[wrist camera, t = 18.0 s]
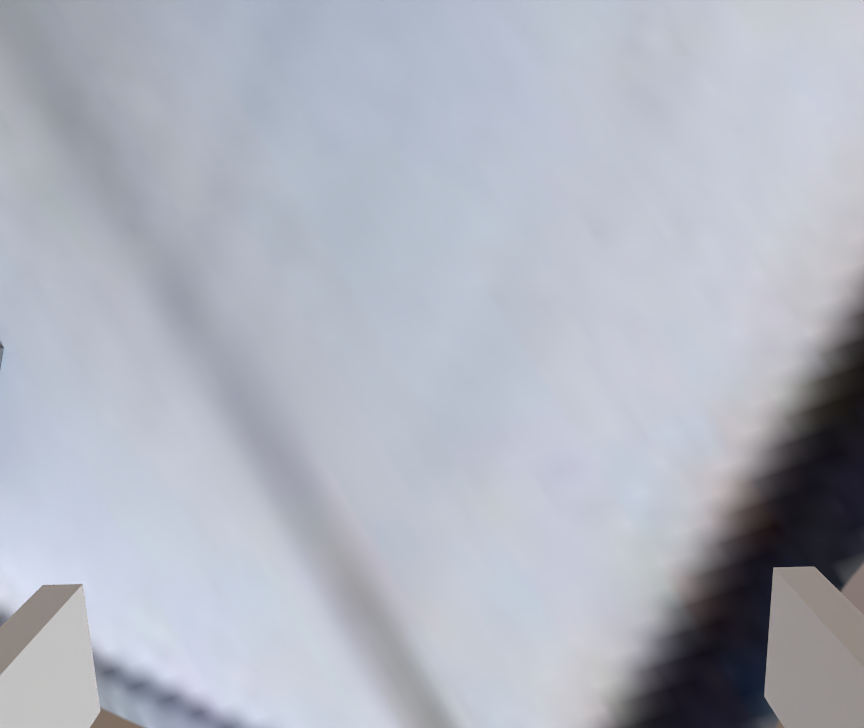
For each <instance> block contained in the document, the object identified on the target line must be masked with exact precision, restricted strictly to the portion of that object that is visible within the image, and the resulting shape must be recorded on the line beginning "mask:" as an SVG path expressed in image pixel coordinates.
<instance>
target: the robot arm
mask: <svg viewBox="0 0 864 728" xmlns="http://www.w3.org/2000/svg"><path fill="white" fill-rule="evenodd" d="M764 697H765V698H766V700H767V702H768V703H769V705H770V706H771V708H772V709H773V711H774V712H775V714H776V715H777V717H778V718H779V720H780V721H781V723H782V724H783V726H784V727H785V728H864V615H863V614H862V613H861V612H860V611H859V610H858V609H857V608H856V607H855V606H854V605H853V604H852V603H851V602H849V600H847V598H846V597H844V595H843V594H841V593H840V592H839V591H838V590H837V589H836V588H835V587H834V586H833V585H832V584H831V583H830V582H829V581H828V580H827V579H826V578H825V577H824V576H823V575H822V574H821V573H820V572H819V571H818V570H817V569H816V568H815V567H780V568H773V582H772V596H771V610H770V624H769V638H768V652H767V666H766V680H765V694H764ZM99 712H100V705H99V698H98V691H97V684H96V676H95V669H94V662H93V655H92V648H91V640H90V633H89V626H88V619H87V612H86V604H85V597H84V590H83V584H71V585H43V586H42V587H41V588H40V589H39V590H38V591H36V592H35V593H34V594H33V595H32V596H31V597H30V598H29V599H28V600H27V601H26V602H25V603H24V604H23V605H22V606H21V607H20V608H19V609H18V610H17V611H16V612H15V613H14V614H13V615H12V616H11V617H10V618H9V619H8V620H7V621H6V622H5V623H4V624H3V625H2V626H1V627H0V728H90V726H91V725H92V723H93V722H94V720H95V719H96V717H97V715H98V714H99Z"/></svg>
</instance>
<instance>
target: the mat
mask: <svg viewBox="0 0 864 728" xmlns="http://www.w3.org/2000/svg"><path fill="white" fill-rule="evenodd" d="M3 348H4V347H0V367H1V361H2V355H3Z"/></svg>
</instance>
